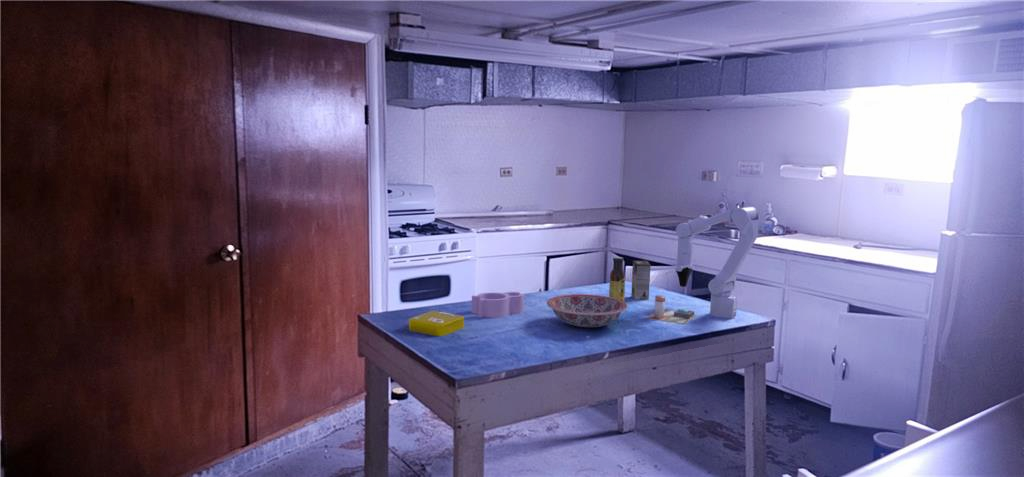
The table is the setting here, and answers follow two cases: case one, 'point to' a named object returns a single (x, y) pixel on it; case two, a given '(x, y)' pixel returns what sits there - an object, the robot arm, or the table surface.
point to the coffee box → (640, 280)
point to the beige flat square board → (671, 318)
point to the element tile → (436, 323)
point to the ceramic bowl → (586, 309)
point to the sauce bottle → (617, 280)
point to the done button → (684, 311)
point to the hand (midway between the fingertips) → (683, 286)
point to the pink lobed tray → (497, 304)
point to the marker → (659, 306)
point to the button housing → (683, 314)
